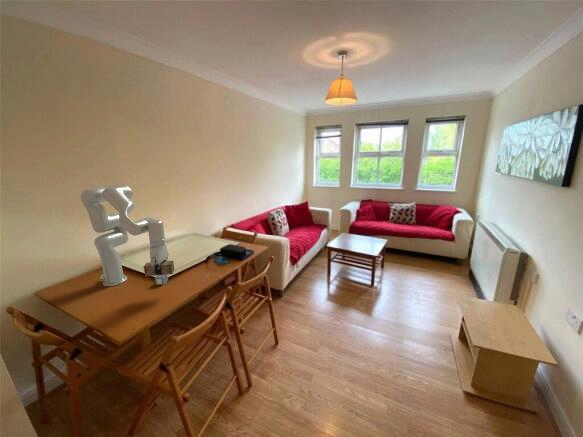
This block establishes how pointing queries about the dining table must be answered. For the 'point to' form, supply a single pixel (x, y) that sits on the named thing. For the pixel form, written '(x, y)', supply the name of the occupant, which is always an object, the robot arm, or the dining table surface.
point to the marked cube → (161, 279)
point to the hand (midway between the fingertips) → (162, 271)
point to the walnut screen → (165, 266)
